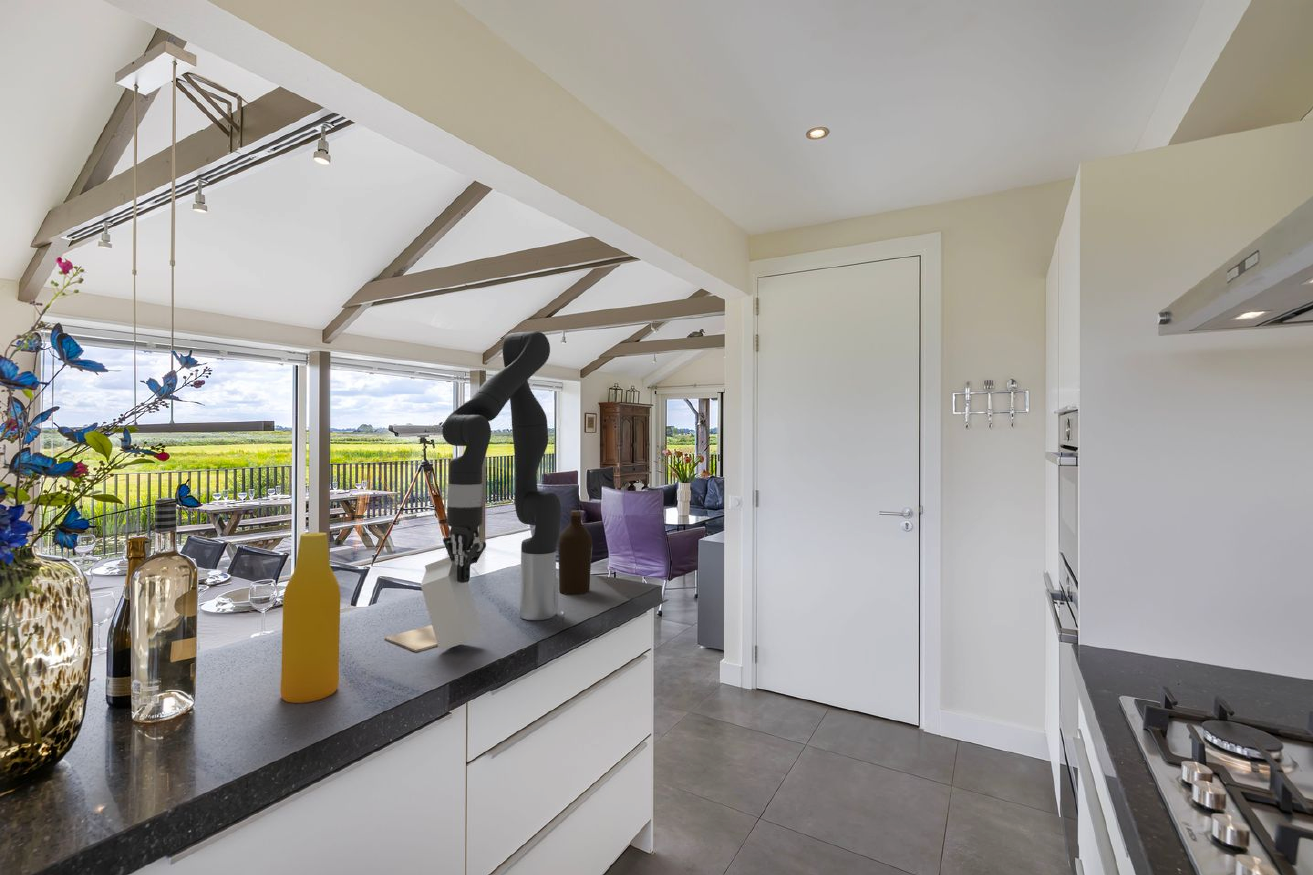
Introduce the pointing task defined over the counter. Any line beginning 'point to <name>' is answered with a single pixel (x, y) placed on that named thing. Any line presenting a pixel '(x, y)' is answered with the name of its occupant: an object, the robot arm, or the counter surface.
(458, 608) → the milk carton
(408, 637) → the cork mat
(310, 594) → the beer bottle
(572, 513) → the olive oil
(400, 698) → the counter surface
